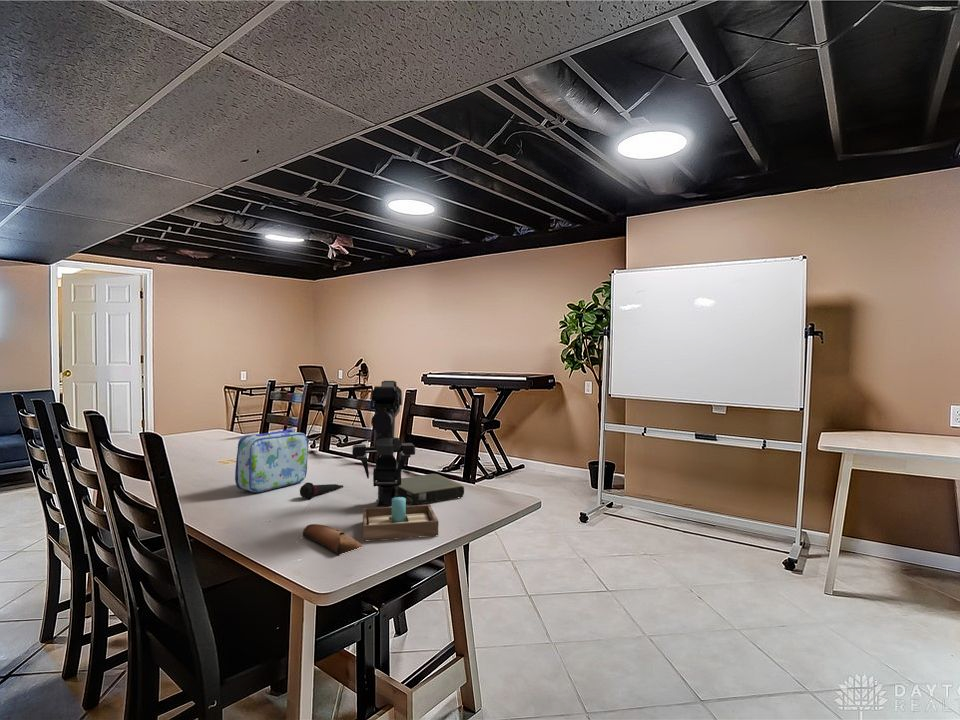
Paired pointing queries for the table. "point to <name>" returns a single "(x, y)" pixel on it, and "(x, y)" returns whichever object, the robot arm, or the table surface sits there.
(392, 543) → the table surface
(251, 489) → the lunch box
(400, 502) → the peg
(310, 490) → the microphone
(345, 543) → the sunglasses case
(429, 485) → the network switch
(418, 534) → the open box
